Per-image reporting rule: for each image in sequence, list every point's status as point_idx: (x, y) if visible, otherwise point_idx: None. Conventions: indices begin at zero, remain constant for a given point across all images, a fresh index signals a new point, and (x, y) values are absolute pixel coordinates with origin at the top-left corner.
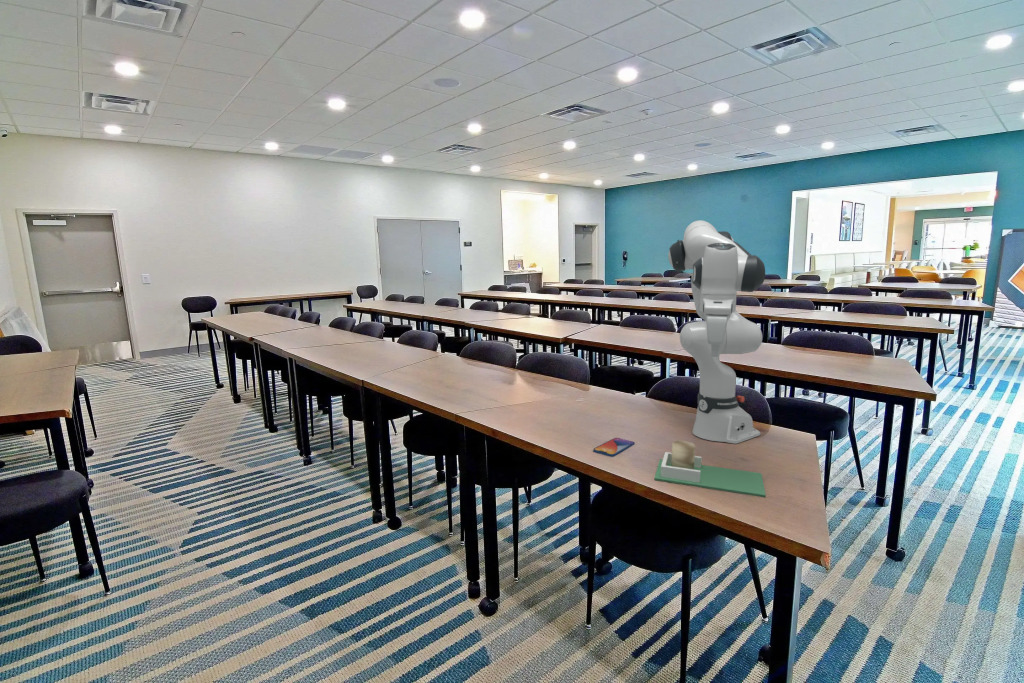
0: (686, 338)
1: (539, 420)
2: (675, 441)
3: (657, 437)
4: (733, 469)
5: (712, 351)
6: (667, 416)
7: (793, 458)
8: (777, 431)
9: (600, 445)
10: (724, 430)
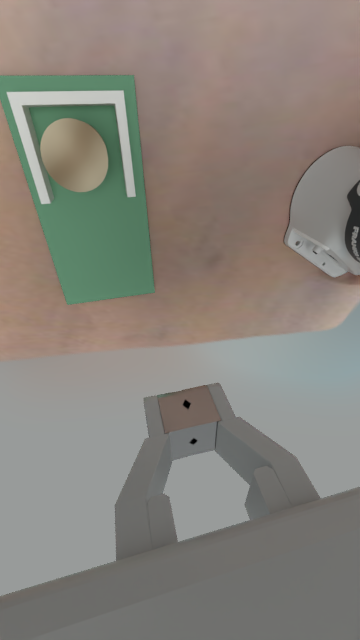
0: None
1: None
2: (88, 127)
3: (303, 41)
4: (149, 252)
5: (149, 432)
6: None
7: (239, 321)
8: (349, 296)
9: None
10: (305, 227)
